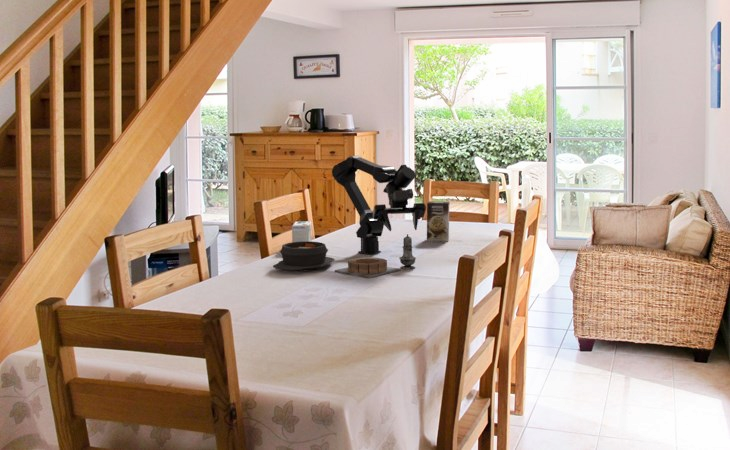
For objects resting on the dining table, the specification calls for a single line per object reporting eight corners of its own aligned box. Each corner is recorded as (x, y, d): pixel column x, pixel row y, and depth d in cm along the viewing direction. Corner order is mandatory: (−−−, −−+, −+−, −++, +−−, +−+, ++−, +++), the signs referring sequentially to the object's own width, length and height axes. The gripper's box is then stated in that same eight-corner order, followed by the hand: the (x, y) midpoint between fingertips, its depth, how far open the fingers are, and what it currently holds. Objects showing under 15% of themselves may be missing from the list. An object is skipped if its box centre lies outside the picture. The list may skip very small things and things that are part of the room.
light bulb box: (295, 247, 327) (294, 221, 325) (312, 247, 327) (311, 220, 325) (292, 252, 317) (291, 225, 315) (309, 252, 316) (308, 224, 315)
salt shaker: (414, 270, 280) (414, 235, 279) (398, 269, 282) (397, 235, 280) (417, 266, 286) (417, 232, 284) (400, 266, 287) (400, 232, 286)
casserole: (306, 259, 302) (305, 237, 300) (346, 265, 291) (346, 241, 290) (260, 271, 281) (259, 247, 280) (302, 277, 271) (301, 252, 269)
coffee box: (426, 241, 337) (426, 202, 335) (427, 238, 344) (427, 200, 341) (448, 241, 336) (448, 203, 333) (449, 239, 342) (449, 201, 340)
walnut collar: (334, 271, 279) (334, 261, 278) (366, 264, 290) (366, 254, 290) (369, 278, 268) (368, 267, 267) (400, 270, 280) (400, 260, 279)
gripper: (373, 182, 289) (380, 217, 280) (424, 180, 293) (433, 215, 284) (369, 201, 298) (376, 236, 289) (419, 199, 302) (427, 233, 292)
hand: (403, 229), depth 288 cm, fingers open, 9 cm apart
